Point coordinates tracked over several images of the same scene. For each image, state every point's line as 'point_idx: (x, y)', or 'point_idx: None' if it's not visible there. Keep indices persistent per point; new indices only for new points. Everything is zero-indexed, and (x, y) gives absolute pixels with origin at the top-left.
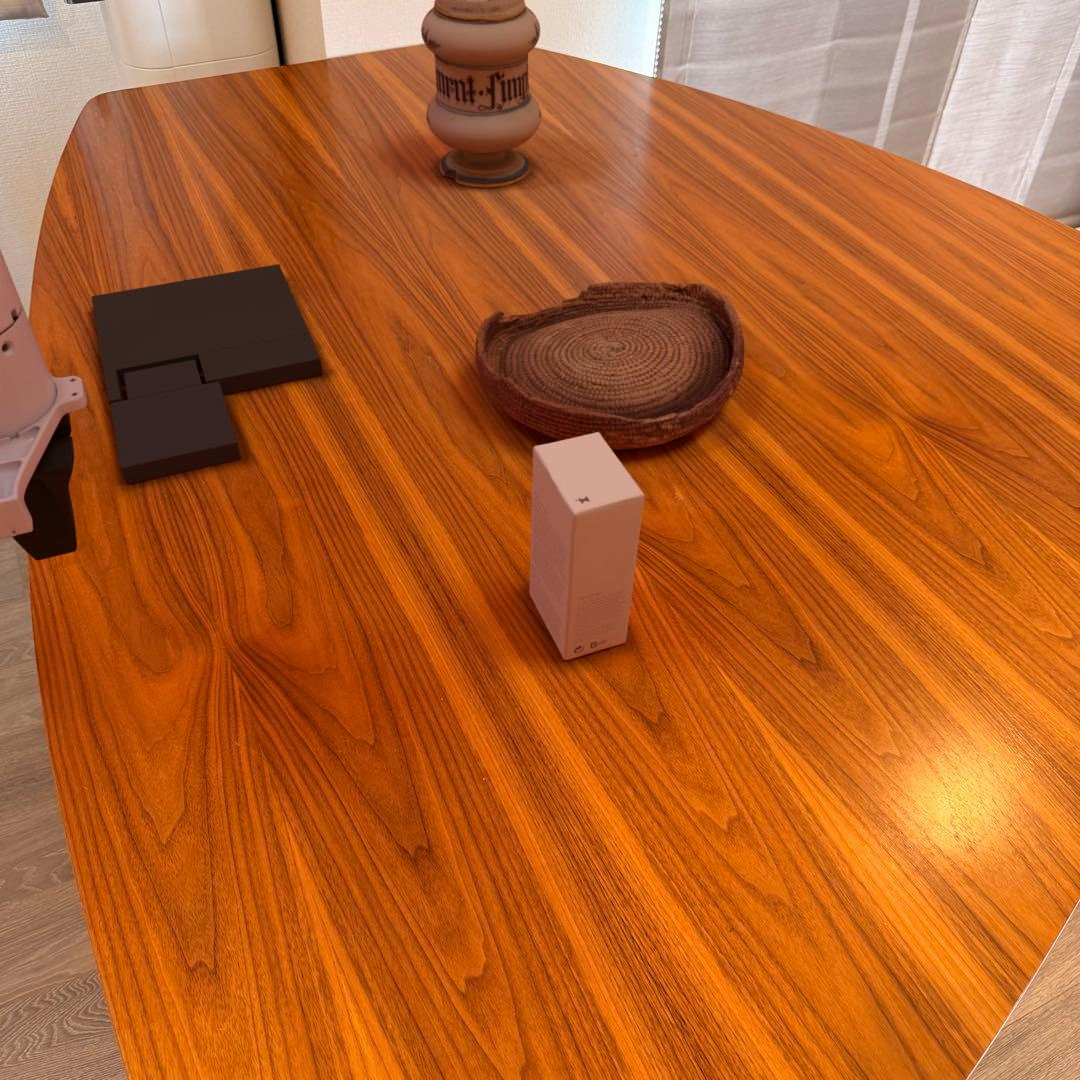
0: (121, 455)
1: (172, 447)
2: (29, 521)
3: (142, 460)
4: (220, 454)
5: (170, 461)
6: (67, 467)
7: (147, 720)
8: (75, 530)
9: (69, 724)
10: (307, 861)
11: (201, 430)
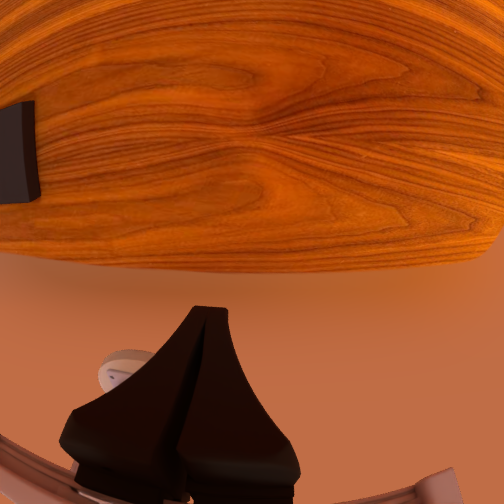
0: (19, 200)
1: (15, 158)
2: (453, 479)
3: (24, 184)
4: (27, 117)
5: (27, 160)
6: (292, 459)
7: (307, 213)
8: (223, 324)
9: (281, 265)
10: (460, 151)
11: (5, 134)
